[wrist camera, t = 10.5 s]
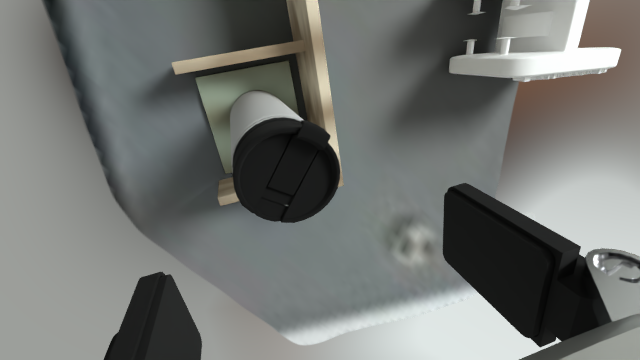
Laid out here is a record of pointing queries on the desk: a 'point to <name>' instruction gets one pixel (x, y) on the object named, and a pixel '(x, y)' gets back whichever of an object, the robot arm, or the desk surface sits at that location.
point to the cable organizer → (536, 43)
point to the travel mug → (280, 160)
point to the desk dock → (268, 83)
